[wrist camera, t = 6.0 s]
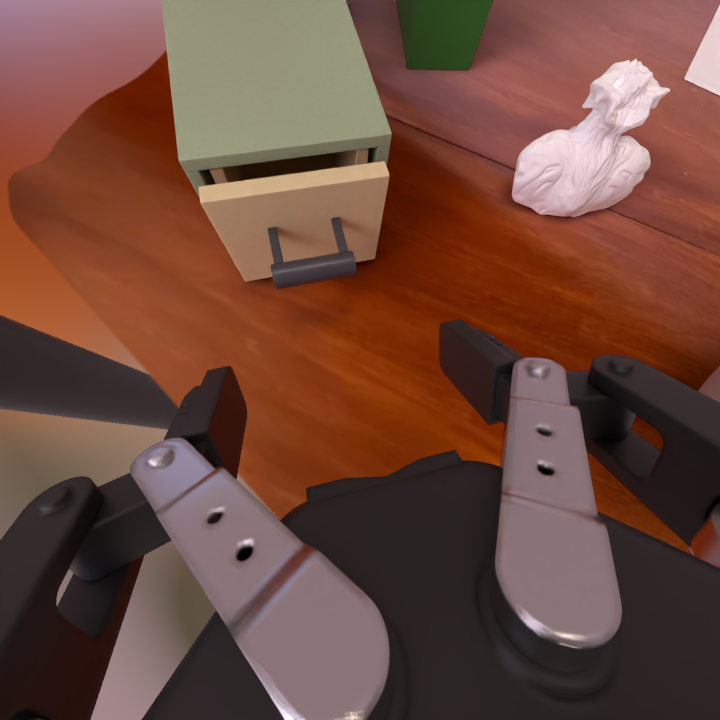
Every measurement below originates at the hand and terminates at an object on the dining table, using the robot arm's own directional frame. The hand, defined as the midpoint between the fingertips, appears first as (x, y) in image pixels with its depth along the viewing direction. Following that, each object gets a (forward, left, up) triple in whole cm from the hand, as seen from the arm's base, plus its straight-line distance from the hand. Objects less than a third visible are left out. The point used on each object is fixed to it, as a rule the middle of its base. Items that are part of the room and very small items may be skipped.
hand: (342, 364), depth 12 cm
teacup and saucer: (+64, +30, -14) cm, 72 cm away
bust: (+26, +17, -14) cm, 34 cm away
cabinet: (0, +22, -13) cm, 25 cm away
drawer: (0, +17, -12) cm, 21 cm away
